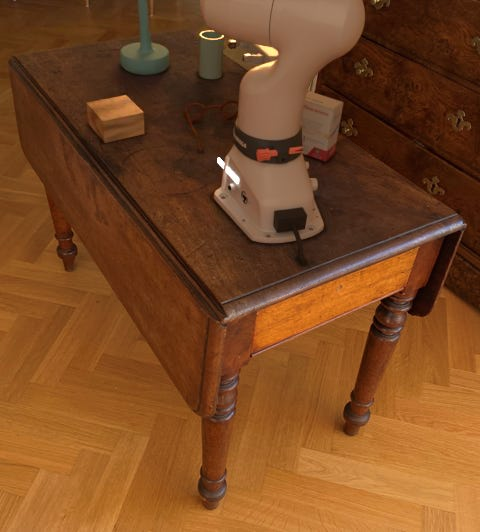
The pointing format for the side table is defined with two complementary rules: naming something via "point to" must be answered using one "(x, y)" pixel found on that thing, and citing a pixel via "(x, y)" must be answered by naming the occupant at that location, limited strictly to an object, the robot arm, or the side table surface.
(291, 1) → the robot arm
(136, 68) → the mug tree
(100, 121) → the block
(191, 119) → the glasses
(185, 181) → the side table surface
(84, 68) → the side table surface
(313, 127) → the ink box
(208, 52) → the tumbler
